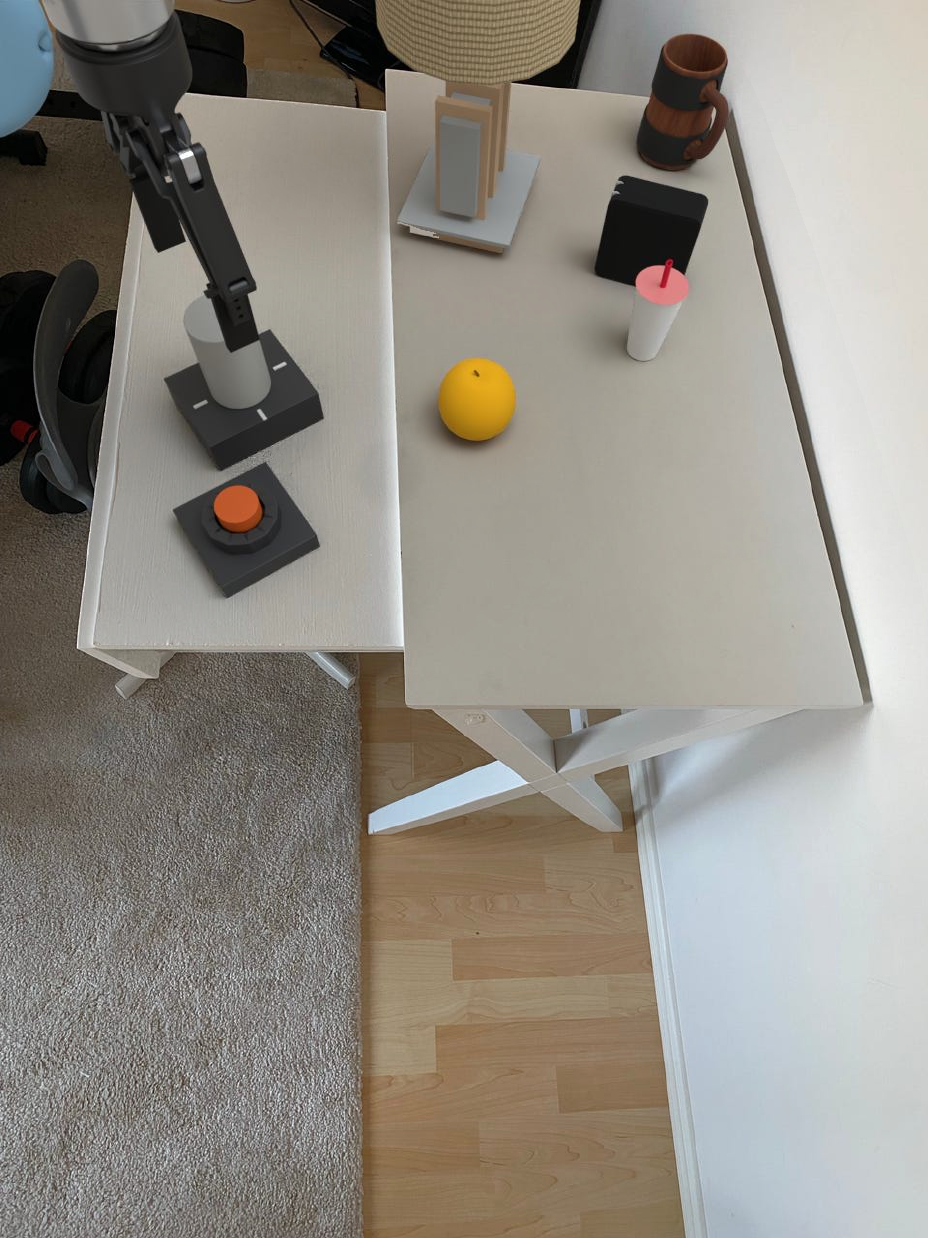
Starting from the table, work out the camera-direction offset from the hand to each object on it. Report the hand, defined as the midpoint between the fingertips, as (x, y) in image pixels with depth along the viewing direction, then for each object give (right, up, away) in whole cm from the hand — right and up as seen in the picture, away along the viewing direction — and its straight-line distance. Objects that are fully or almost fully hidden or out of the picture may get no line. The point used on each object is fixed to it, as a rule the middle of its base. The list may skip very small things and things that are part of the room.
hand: (205, 292), depth 68 cm
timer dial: (0, -5, +11) cm, 12 cm away
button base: (+1, -20, +9) cm, 22 cm away
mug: (+49, +31, +33) cm, 67 cm away
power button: (+2, -18, +5) cm, 19 cm away
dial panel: (0, -6, +15) cm, 16 cm away
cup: (+42, +2, +20) cm, 46 cm away
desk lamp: (+23, +22, +28) cm, 43 cm away
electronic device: (+43, +12, +24) cm, 50 cm away
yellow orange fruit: (+23, -7, +15) cm, 29 cm away
